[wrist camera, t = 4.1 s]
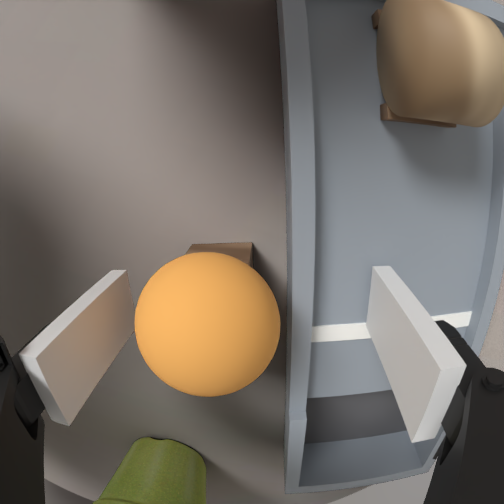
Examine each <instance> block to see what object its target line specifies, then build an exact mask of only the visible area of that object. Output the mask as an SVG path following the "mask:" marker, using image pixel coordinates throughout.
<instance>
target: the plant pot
mask: <svg viewBox="0 0 504 504" xmlns="http://www.w3.org/2000/svg"><path fill="white" fill-rule="evenodd" d="M92 504H206V466H205V464H204V461H203V458H202V457H201V456H200V455H199V454H198V453H197V452H196V451H194V450H193V449H191V448H189V447H187V446H185V445H184V444H181V443H179V442H176V441H173V440H169V439H165V440H155V439H152V438H150V437H145V438H141V439H138V440H137V441H135V442H134V443H133V445H132V446H131V448H130V450H129V451H128V453H127V454H126V456H125V458H124V459H123V461H122V463H121V464H120V466H119V468H118V469H117V471H116V472H115V474H114V475H113V477H112V479H111V480H110V482H109V483H108V485H107V486H106V488H105V490H104V491H103V493H102V494H101V496H100V497H99V499H98V500H96V501H94V502H93V503H92Z"/></svg>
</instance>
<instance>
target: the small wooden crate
mask: <svg viewBox="0 0 504 504" xmlns="http://www.w3.org/2000/svg"><path fill="white" fill-rule="evenodd" d="M198 252H215V253H221V254H225V255H229V256H232V257H234V258H237V259H239V260H241V261H242V262H244V263H246V264H247V265H249V266H250V267H251V268H253V254H252V242H251V243H217V244H192V246H191V247H190V248H189V250H188V251H187V253H186V254H185V255H187V254H191V253H198Z"/></svg>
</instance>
